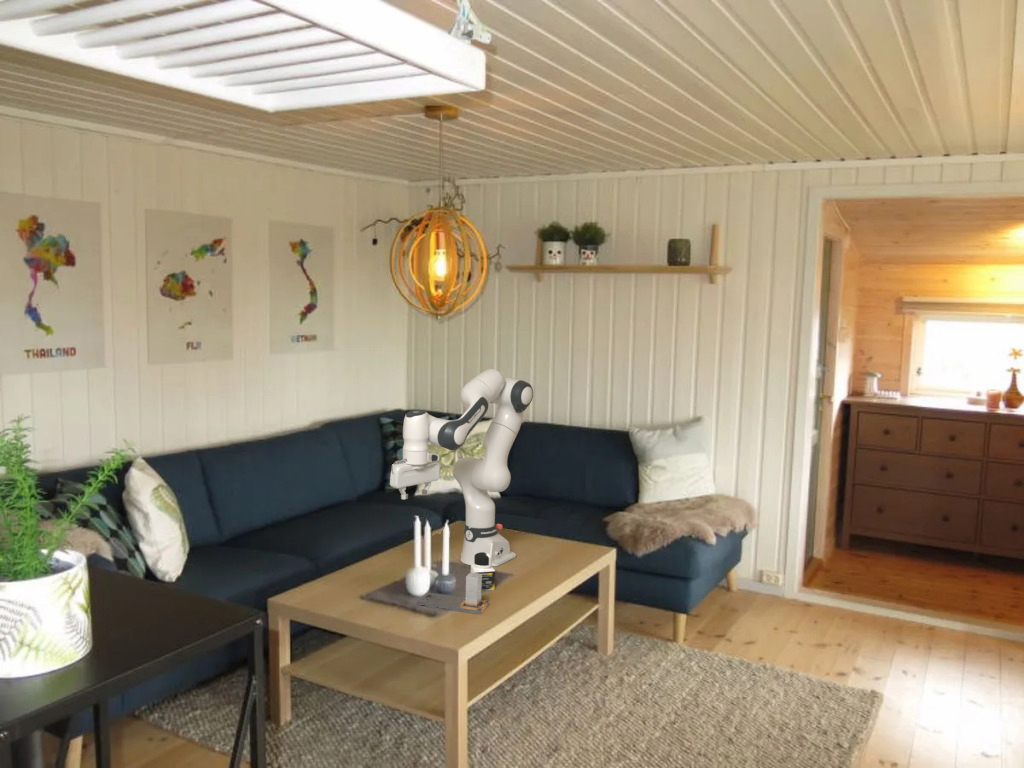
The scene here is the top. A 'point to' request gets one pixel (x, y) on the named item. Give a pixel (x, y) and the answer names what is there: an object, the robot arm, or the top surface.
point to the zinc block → (473, 590)
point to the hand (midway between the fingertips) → (414, 496)
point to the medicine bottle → (484, 570)
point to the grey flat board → (452, 603)
